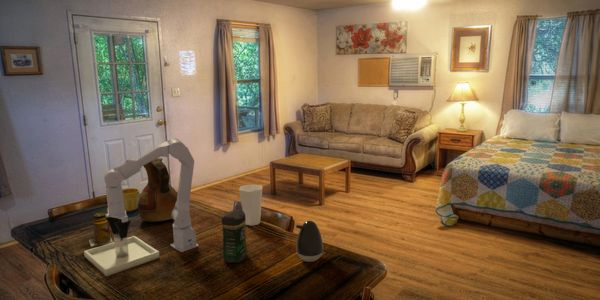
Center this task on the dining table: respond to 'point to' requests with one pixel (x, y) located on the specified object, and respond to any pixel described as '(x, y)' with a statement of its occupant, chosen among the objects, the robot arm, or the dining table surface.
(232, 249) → the green squeeze bottle
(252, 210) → the cup
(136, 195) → the plant pot
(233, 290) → the dining table surface
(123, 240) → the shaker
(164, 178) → the ceramic pitcher
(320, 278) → the dining table surface
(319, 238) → the pump dispenser
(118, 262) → the tray
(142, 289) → the dining table surface
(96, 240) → the condiment
